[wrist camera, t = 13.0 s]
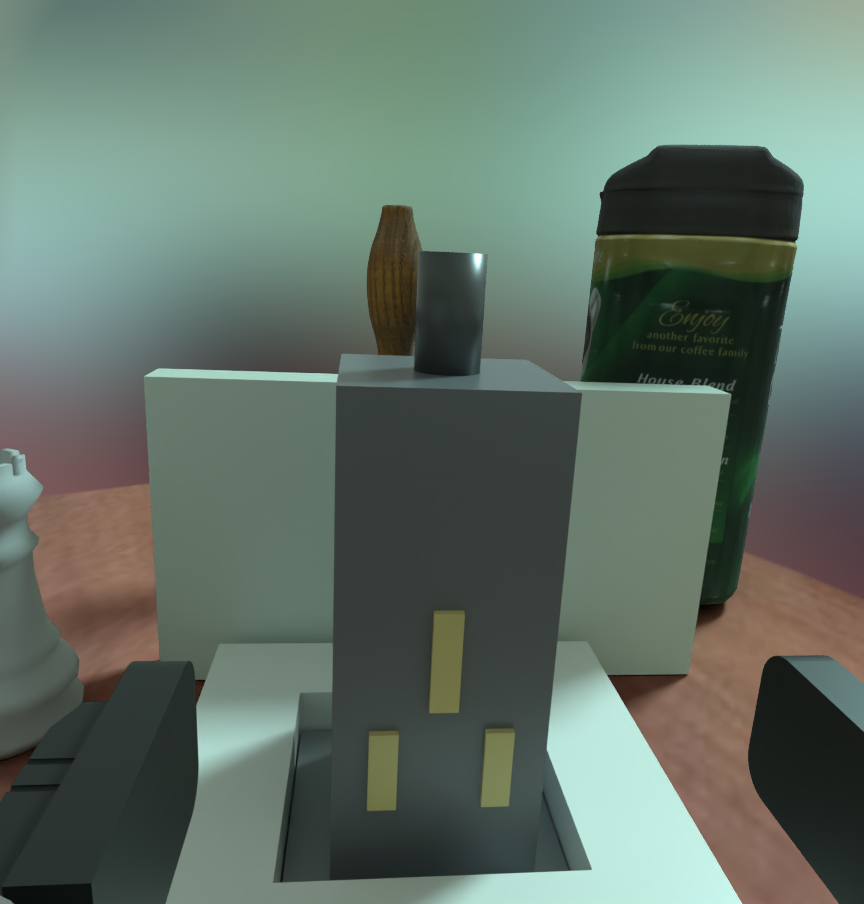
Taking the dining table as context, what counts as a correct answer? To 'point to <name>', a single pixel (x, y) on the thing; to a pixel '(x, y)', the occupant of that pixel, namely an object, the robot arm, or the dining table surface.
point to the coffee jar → (699, 301)
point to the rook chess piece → (27, 626)
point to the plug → (445, 592)
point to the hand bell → (394, 281)
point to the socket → (311, 641)
